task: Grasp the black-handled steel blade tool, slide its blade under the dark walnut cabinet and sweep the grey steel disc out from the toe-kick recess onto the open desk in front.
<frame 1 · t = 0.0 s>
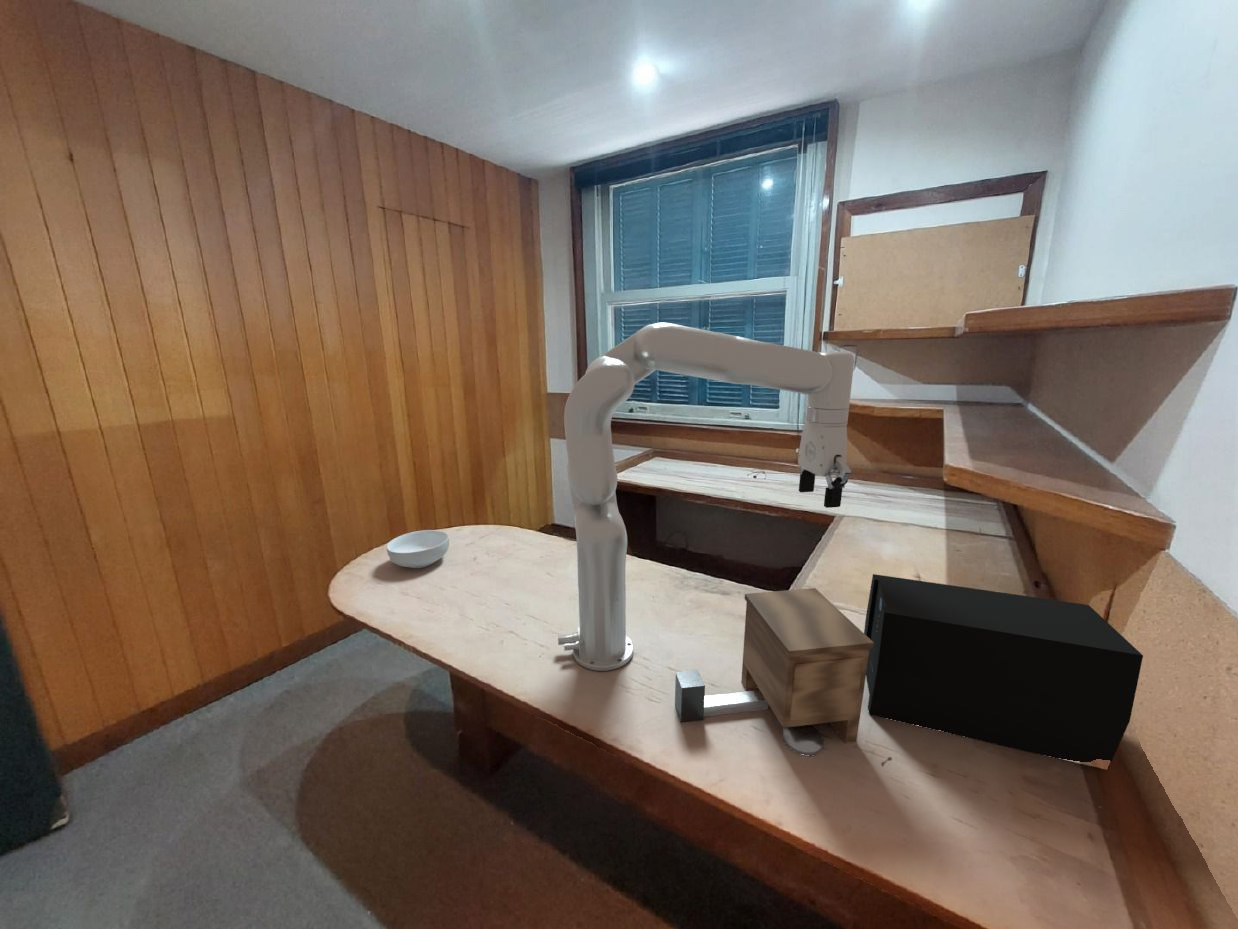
hand: (818, 499, 98), 31 cm above the table, fingers open, 9 cm apart
uninterruptible power supply: (971, 712, 83), on the table
blade tool: (688, 713, 83), on the table
steel token: (802, 742, 77), on the table
cereal bowl: (421, 563, 141), on the table
walnut cabinet: (794, 709, 84), on the table
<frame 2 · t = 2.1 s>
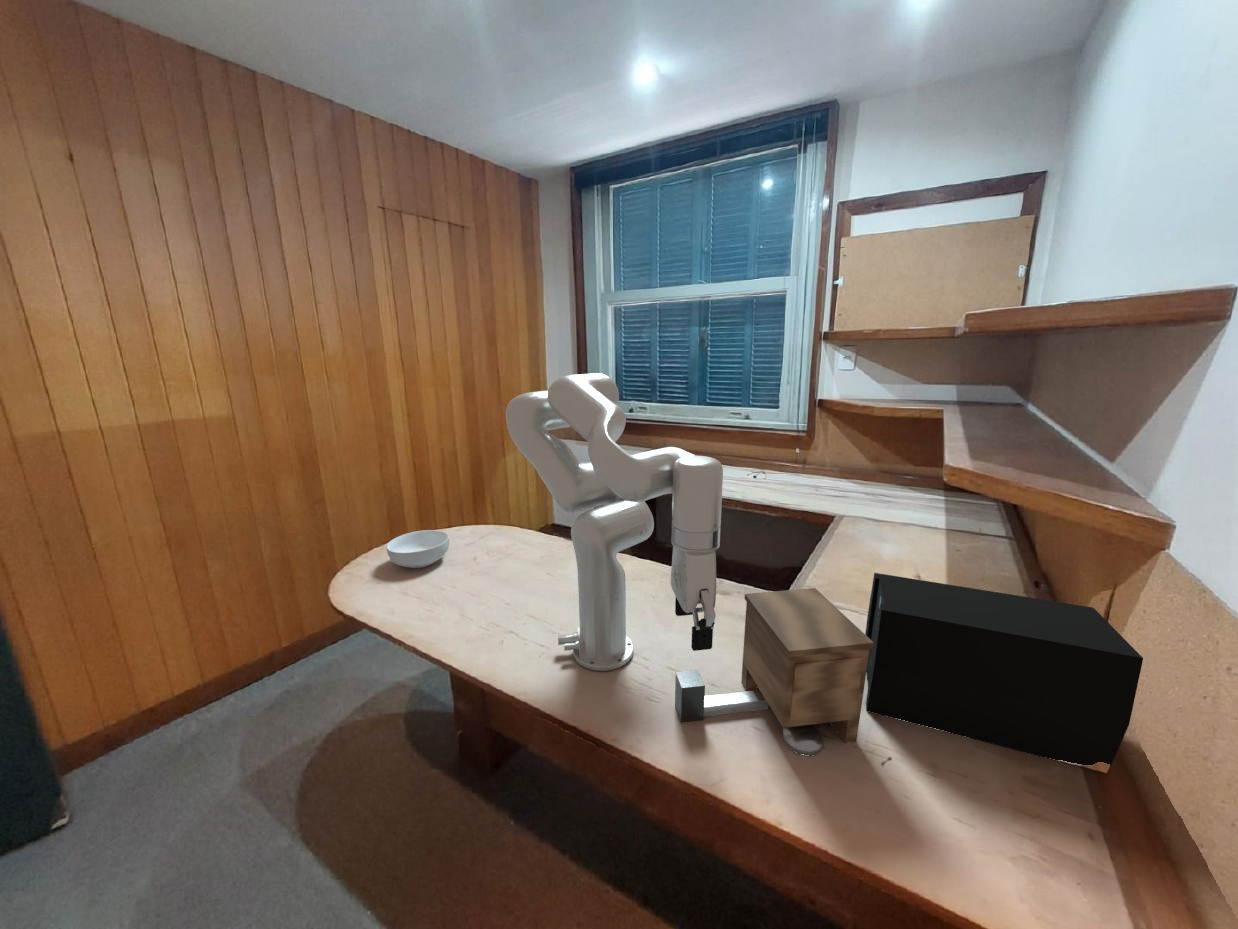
hand: (692, 630, 79), 16 cm above the table, fingers open, 9 cm apart
nothing on the table moved.
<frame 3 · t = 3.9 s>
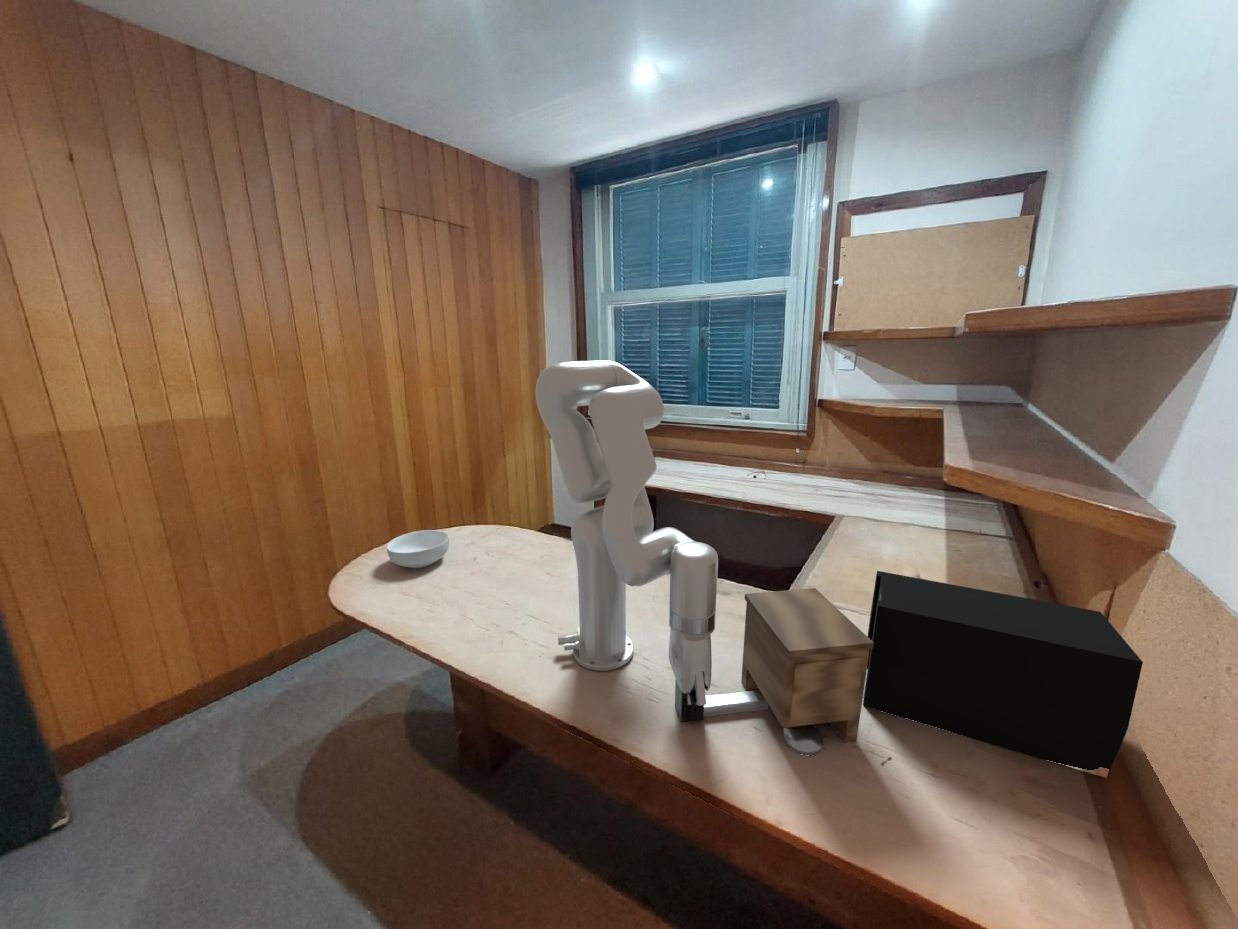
hand: (689, 709, 83), 1 cm above the table, fingers closed on blade tool, 4 cm apart
blade tool: (688, 713, 83), on the table, touching gripper
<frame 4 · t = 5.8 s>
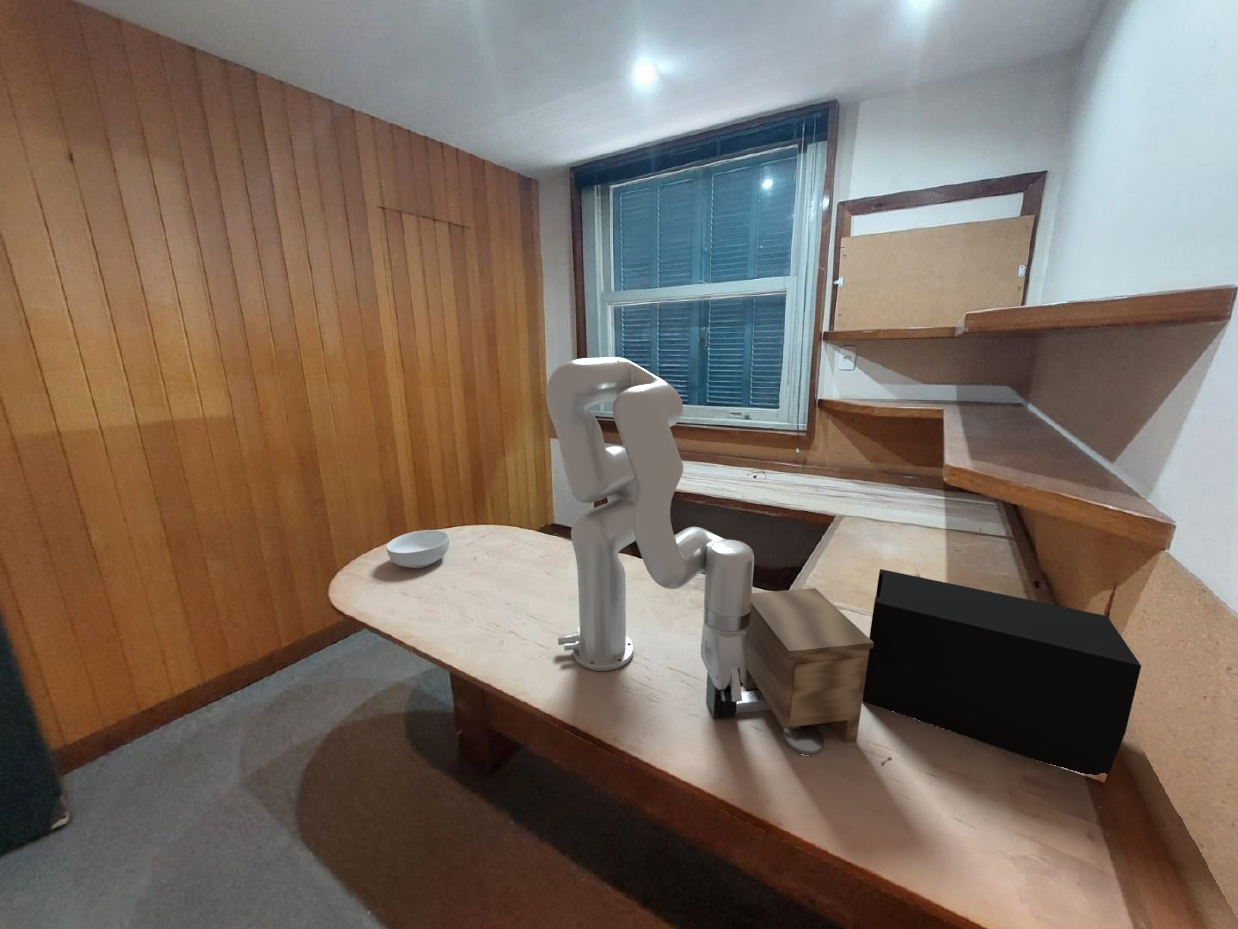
hand: (721, 705, 84), 1 cm above the table, fingers closed on blade tool, 4 cm apart
blade tool: (720, 709, 84), on the table, touching gripper
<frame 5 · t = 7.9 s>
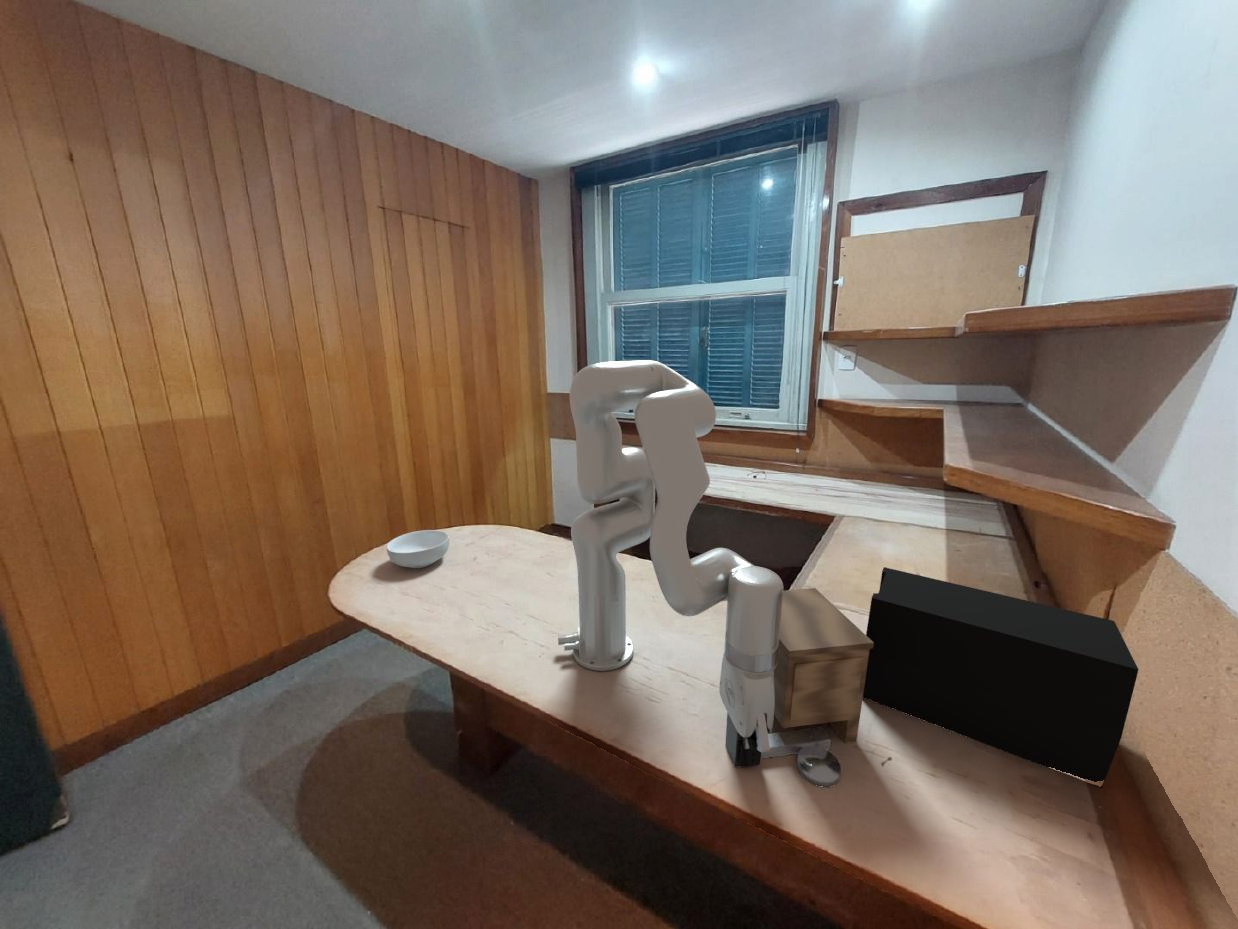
hand: (743, 750, 74), 1 cm above the table, fingers closed on blade tool, 4 cm apart
blade tool: (742, 754, 75), on the table, touching gripper
steel token: (818, 770, 72), on the table
when the fingers open (1 cm above the table, at t = 9.8 s): blade tool stays where it is, on the table.
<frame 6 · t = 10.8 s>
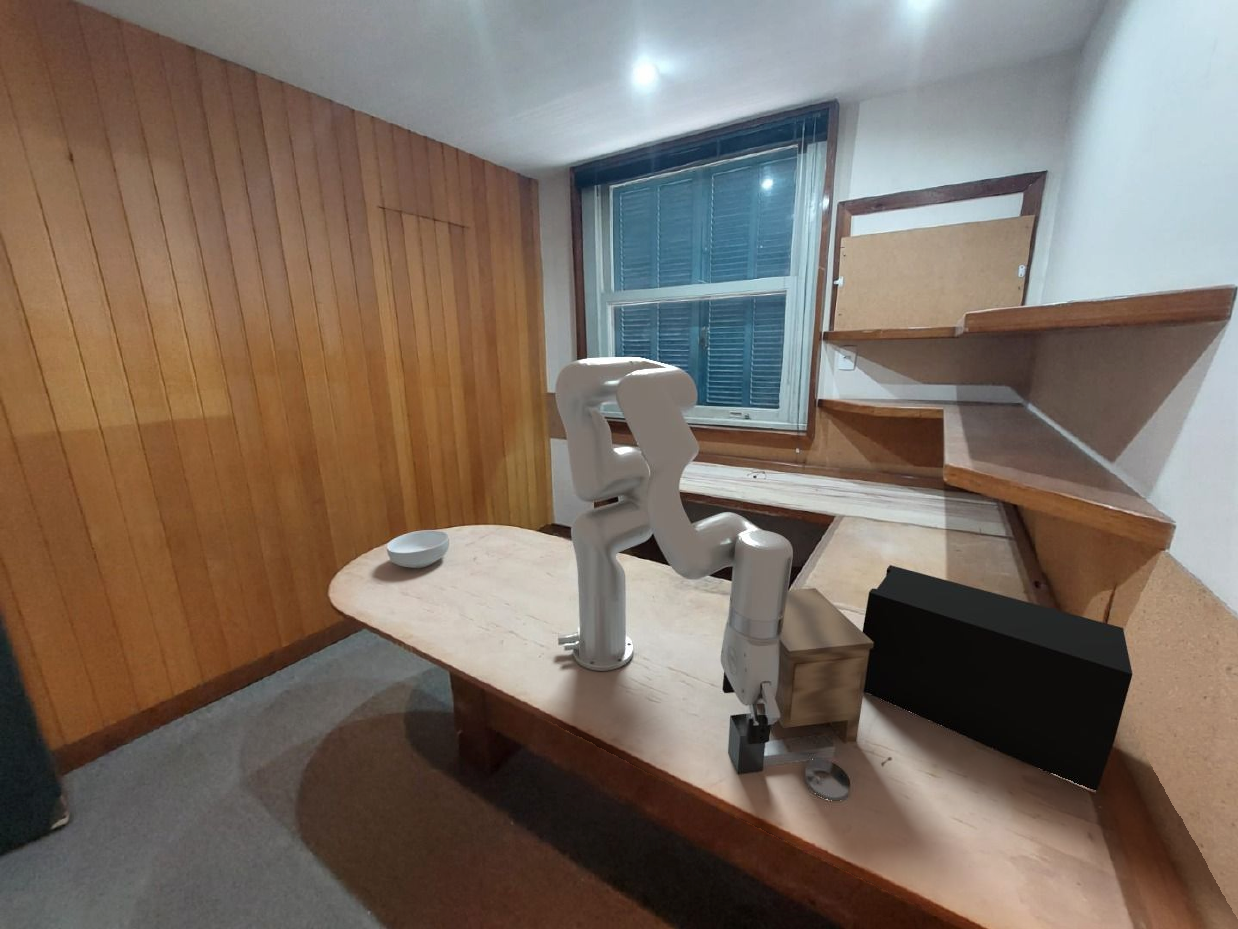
hand: (744, 715, 72), 8 cm above the table, fingers open, 9 cm apart
blade tool: (745, 761, 73), on the table
steel token: (826, 784, 70), on the table
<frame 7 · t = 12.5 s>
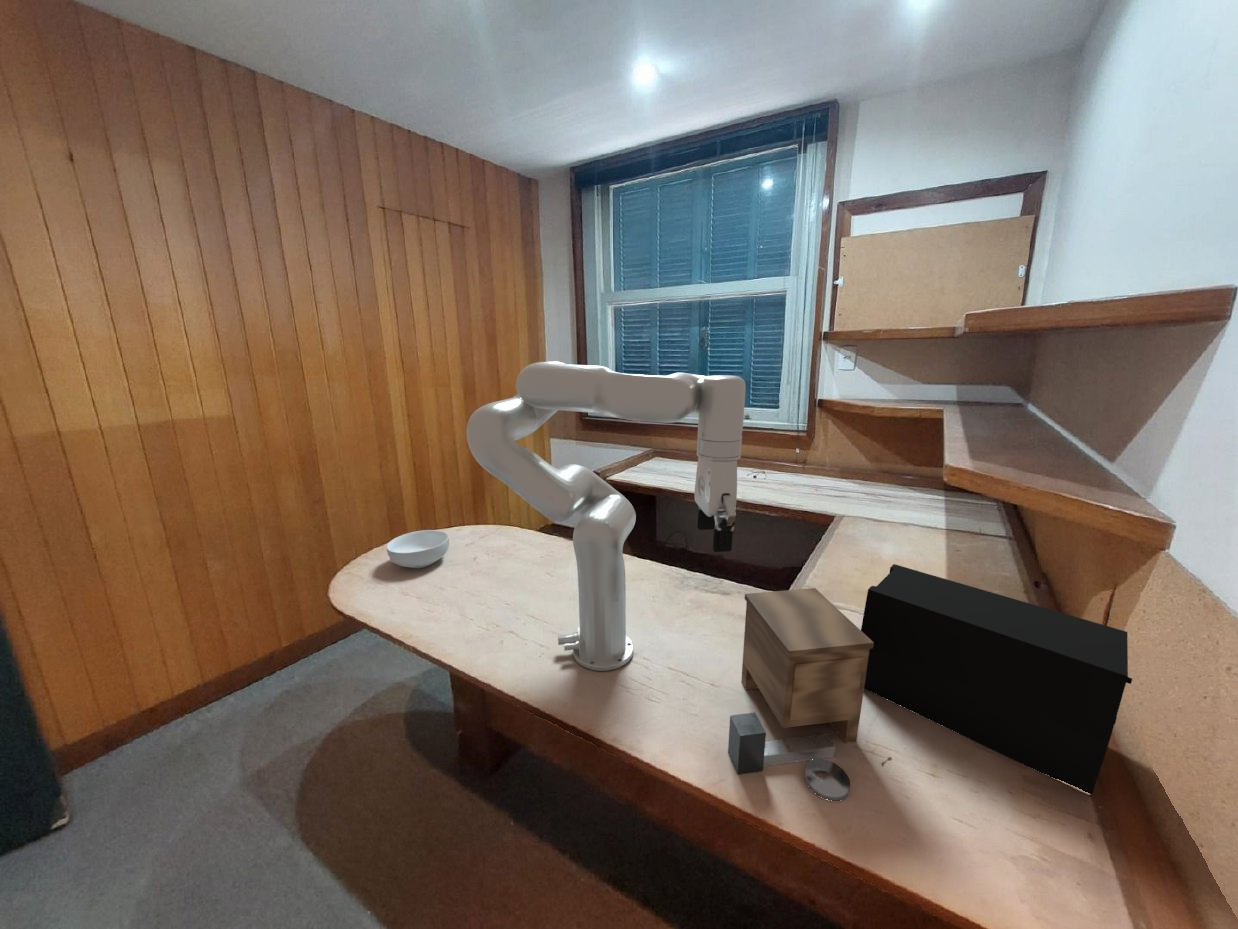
hand: (713, 539, 87), 28 cm above the table, fingers open, 9 cm apart
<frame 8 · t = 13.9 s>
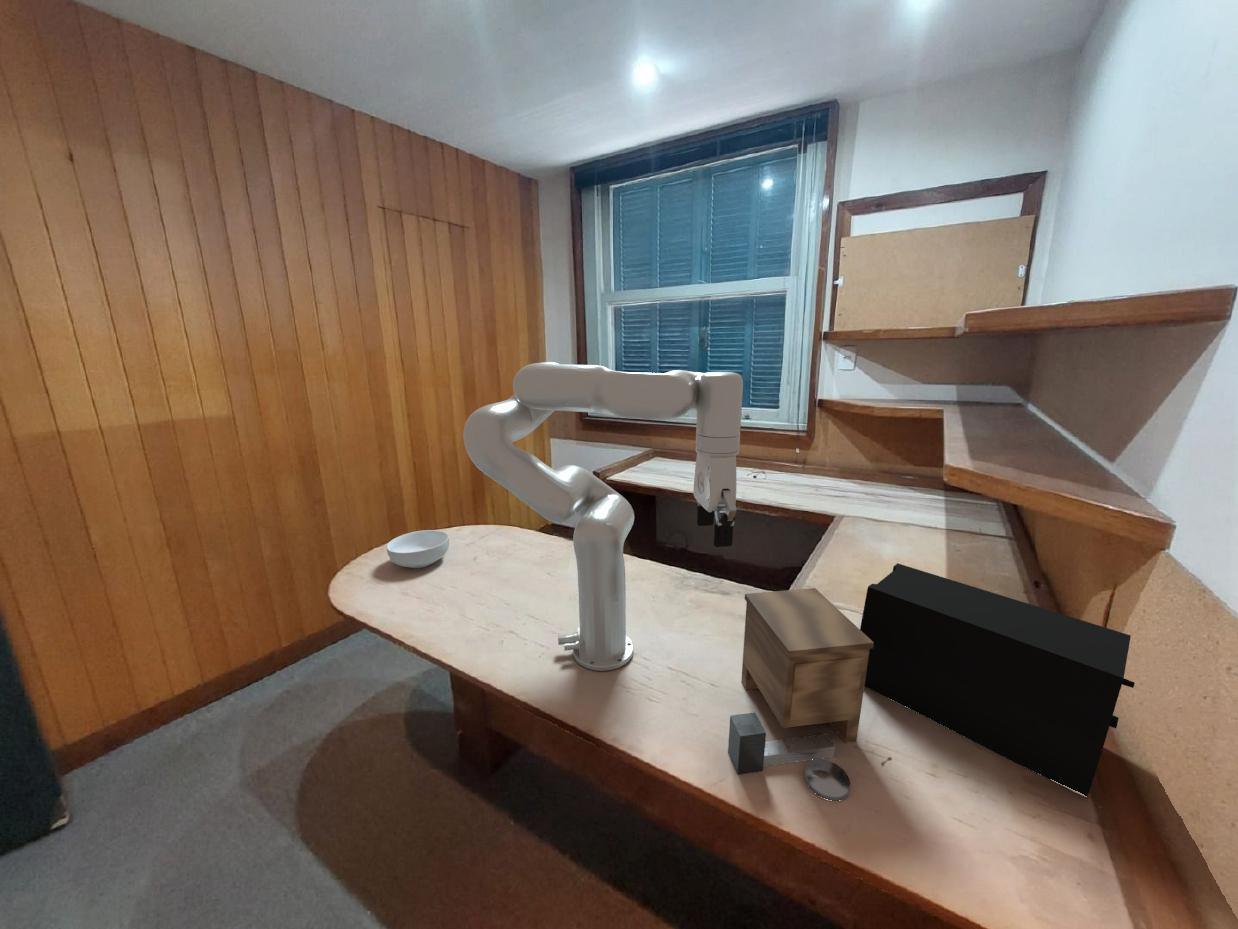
hand: (713, 535, 87), 28 cm above the table, fingers open, 9 cm apart
at the end: steel token inside the target area (3.2 cm from its centre), on the table; the gripper is holding nothing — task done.
